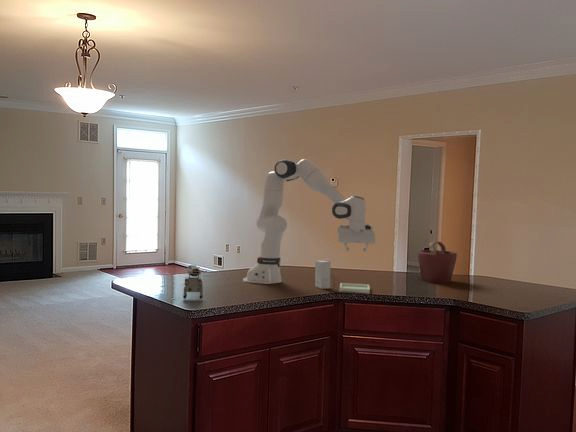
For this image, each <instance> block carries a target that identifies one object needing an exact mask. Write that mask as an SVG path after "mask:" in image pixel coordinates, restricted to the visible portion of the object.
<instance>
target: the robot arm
mask: <svg viewBox="0 0 576 432" xmlns="http://www.w3.org/2000/svg"><path fill="white" fill-rule="evenodd" d="M299 178H300V179H301V180H302V181H303V182H304V184H306V185H307V186H308V187H309V188H310V189H311V190H313V191H314V192H318V193H320V194H322V195H325V196H326V197H327V198H328V199H329V200H330V201H331V202H332V203H333V206H332V209H331V214H332V215H333V217H334V218H335V219H338V220H348V225H342V224H341V225H340V226H338V227H337V233H338V236H337V241H338V243H344V247H345V251H346V252H350V247H348V246H347V245H348V244H351V243H352V244H365V247H363V249H362V250H363V253H364V252H367V249H368V247H369V244H371V245H372V244H373V245H374V244H375V243H376V234H375V231H374V225H372V224H370V223H366V207H367V206H366V200H365V198H364V197H362V196H358V195H351V196H350V197H348V198H345V197H344V196H343V195H342V194H341V193H340V192H339V191H338V190H337V189H336V188H335V187H334V185H332V183H331V182H330V181H329V179H328V178H327V176H326V175H325V174H324V172H323V171H322V170H321V169H320V167H318V165H316V164H315V163H314V162H312V160H310V159H308V158H302V159H301V160H299V161H297V162H296V161H294V160H292V159H291V160H290V159H280V160H279V161H277V162H276V163H275V165H274V171H269V172H268V173H267V174H266V178H265V181H264V188H263V201H262V207H261V210H260V212H259V213H260V214H259V216H258V218H257V220H256V227H257V229H259V230H260V231H261V232H262V233H264V236H263V240H262V241H261V244H260V256H258V257H257V258H256V264H255V265H253V266H252V267H250V268H249V269H248V271H247V272H246V273H247V274H246V277H243V278H242V282H244V283H253V284H263V285H269V284H270V285H271V284H278V283H279V284H280V283H282V282H283V281H282V277H281V275H282V274H281V261H282V260H281V244H282V243H281V242H282V240H283V235H284V233H285V231H286V230H287V227H288V223H287V221H286V218H284V217H283V216H281V215H279V211H280V209H281V207H282V206H283V200H284V199H283V198H284V185H285V183H286V182H290V181H294V180H297V179H299Z"/></svg>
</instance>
